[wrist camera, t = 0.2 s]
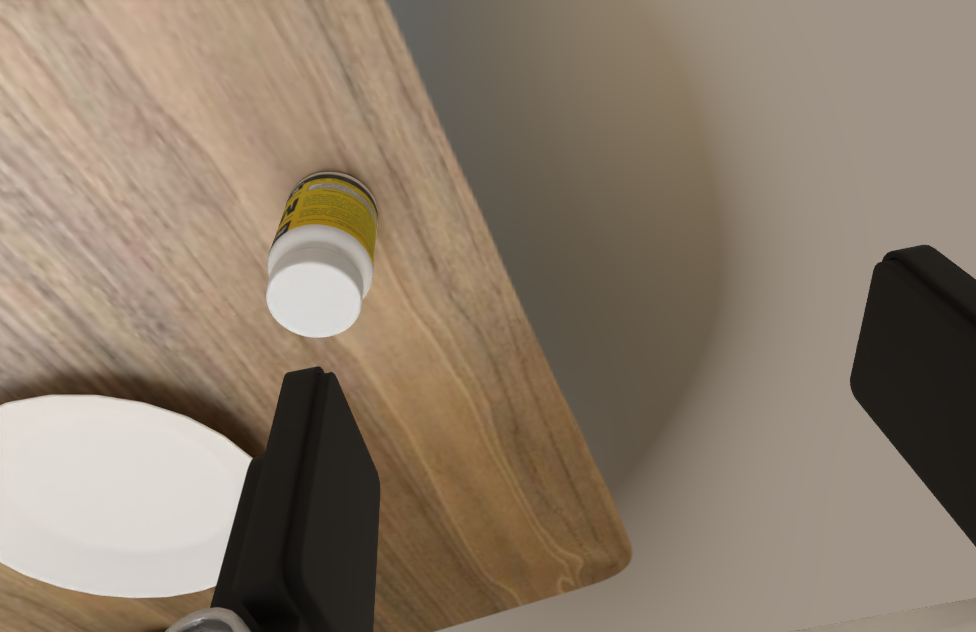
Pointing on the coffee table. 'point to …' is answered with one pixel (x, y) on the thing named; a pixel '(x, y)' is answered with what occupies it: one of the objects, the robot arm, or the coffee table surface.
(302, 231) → the supplement bottle
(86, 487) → the plate
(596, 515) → the coffee table surface
